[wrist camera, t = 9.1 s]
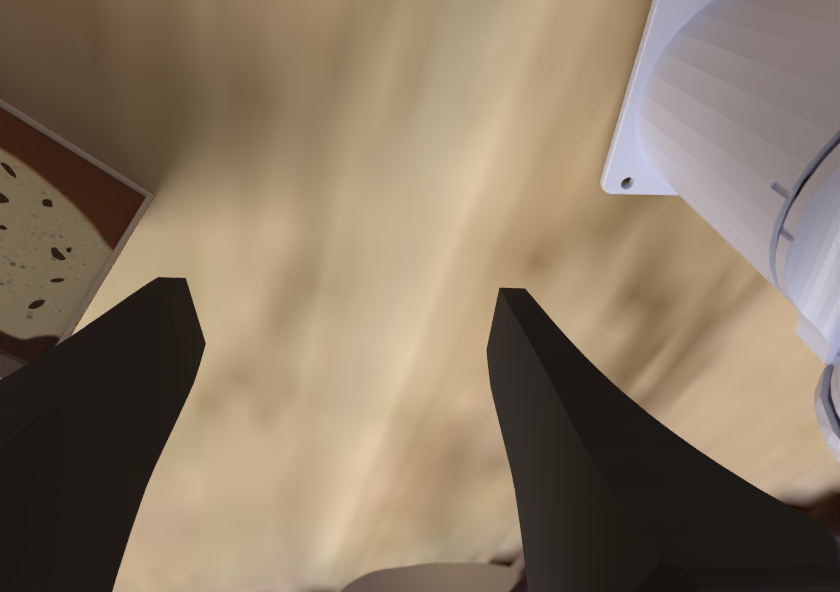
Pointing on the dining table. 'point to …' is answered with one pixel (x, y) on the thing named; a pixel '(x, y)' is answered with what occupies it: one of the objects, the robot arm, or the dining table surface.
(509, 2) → the dining table surface
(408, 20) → the dining table surface
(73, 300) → the food container
